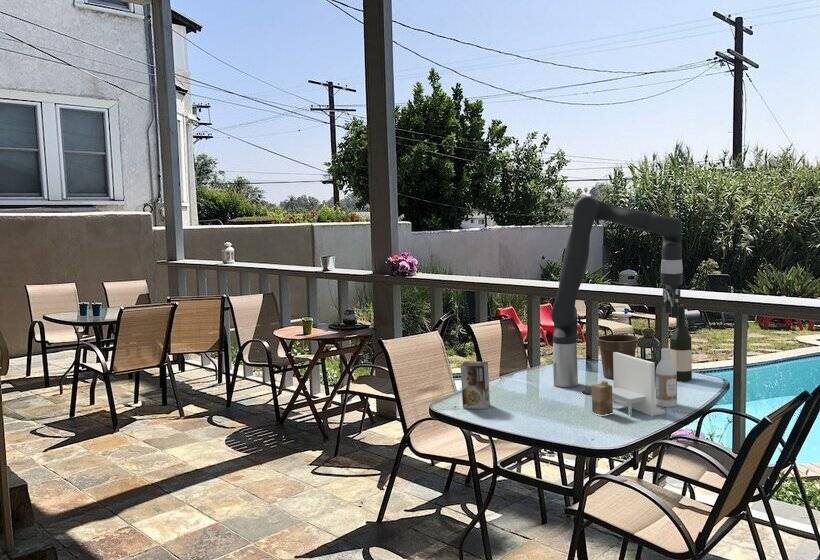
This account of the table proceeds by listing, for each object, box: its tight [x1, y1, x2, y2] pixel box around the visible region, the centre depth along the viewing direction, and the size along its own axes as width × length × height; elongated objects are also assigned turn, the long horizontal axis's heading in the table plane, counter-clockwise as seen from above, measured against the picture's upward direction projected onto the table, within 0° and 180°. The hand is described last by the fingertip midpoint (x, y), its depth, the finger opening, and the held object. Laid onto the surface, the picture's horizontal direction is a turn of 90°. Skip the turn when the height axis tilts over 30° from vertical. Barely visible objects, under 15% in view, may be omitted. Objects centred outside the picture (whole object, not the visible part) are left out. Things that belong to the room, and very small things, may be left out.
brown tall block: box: [591, 380, 614, 415], centre depth 233 cm, size 5×5×11 cm
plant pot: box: [596, 334, 639, 380], centre depth 280 cm, size 16×16×16 cm
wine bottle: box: [669, 304, 693, 383], centre depth 270 cm, size 8×8×30 cm
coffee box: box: [459, 360, 491, 410], centre depth 249 cm, size 9×6×16 cm
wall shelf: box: [612, 352, 666, 417], centre depth 237 cm, size 12×20×18 cm, turn 20°
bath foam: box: [655, 347, 678, 408], centre depth 238 cm, size 7×7×20 cm
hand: (671, 314), depth 255 cm, fingers open, 8 cm apart
